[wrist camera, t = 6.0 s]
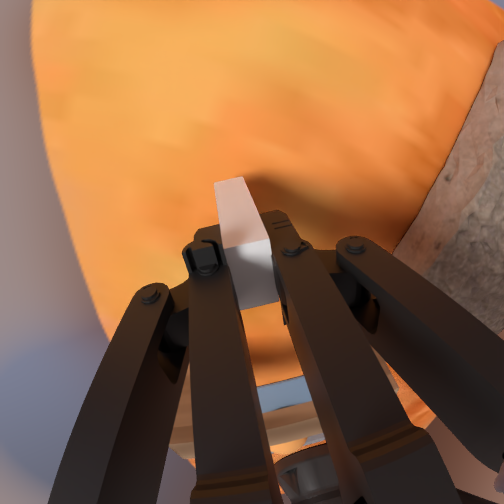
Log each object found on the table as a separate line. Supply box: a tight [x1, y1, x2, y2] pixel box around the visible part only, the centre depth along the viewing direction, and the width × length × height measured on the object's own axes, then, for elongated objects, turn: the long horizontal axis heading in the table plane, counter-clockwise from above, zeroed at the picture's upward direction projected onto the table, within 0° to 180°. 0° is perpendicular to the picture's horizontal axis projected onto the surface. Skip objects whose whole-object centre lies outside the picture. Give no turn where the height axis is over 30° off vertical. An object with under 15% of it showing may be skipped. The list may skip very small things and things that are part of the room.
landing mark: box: [257, 375, 312, 413], centre depth 31 cm, size 12×12×1 cm
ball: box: [270, 437, 308, 454], centre depth 30 cm, size 6×6×6 cm
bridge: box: [169, 345, 399, 459], centre depth 20 cm, size 3×14×9 cm, turn 100°
